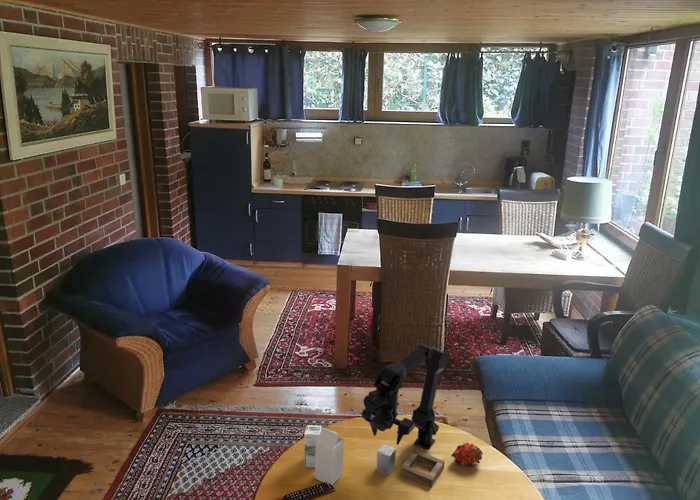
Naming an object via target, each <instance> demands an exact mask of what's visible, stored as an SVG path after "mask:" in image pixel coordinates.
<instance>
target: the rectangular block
mask: <svg viewBox="0 0 700 500" xmlns="http://www.w3.org/2000/svg"><path fill="white" fill-rule="evenodd" d="M396 454H397V448H395V447H392V446H391V445H387V444H385V443H383V444H382V445H381V446H380V448H379V449H378V450H377V453H376V467H375V468H376V471H378V472H381V473H383V474H385V475H387V476H389V475H390V474H391V473H392V472H393V470H394V469H395V467H396Z"/></svg>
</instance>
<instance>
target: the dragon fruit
mask: <svg viewBox="0 0 700 500" xmlns="http://www.w3.org/2000/svg"><path fill="white" fill-rule="evenodd" d="M483 455H484V453H483V451H482V450H481V449H480V447H478V446H477V445H475V444H473V443H469V442H466V443H463V444H459V445H458V446H457V447H456V448H455V450H454V451H453V452H452V453H451V455H450V457H451V458H454V460H453V461H454V462H456V464H459V465H460V464H461V466H466V468H468V467H471V466H477V464H480V463H481V460H482V458H483Z"/></svg>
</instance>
